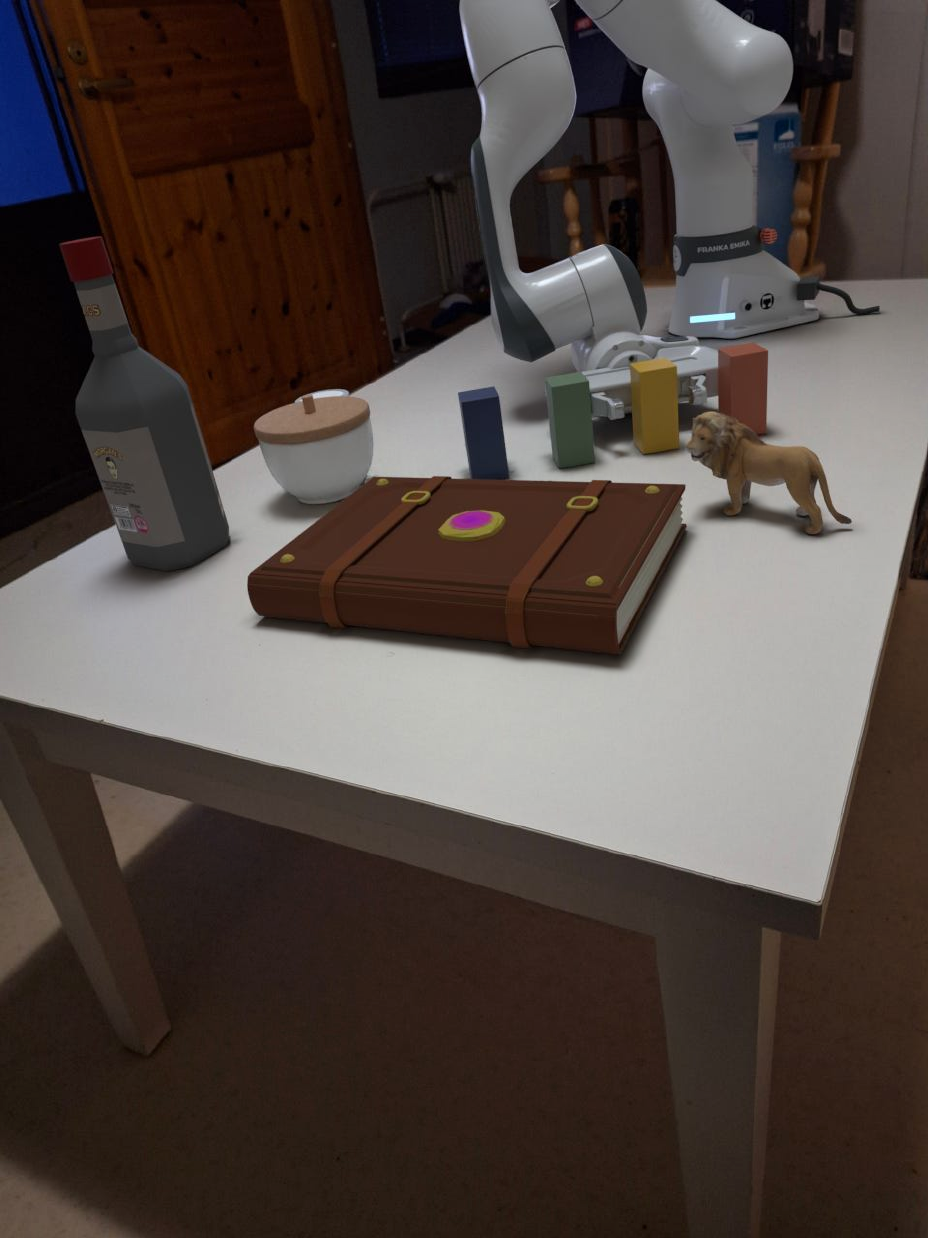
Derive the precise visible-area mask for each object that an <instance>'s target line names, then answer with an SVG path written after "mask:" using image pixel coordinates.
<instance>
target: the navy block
mask: <svg viewBox="0 0 928 1238" xmlns="http://www.w3.org/2000/svg"><path fill="white" fill-rule="evenodd" d="M457 396H458V397H457V398H458V403H459V410H460V416H461V423H462V430H463V431H462V432H463V437H464V444H465V451H466V457H467V458H466V459H467V464H468V470H469V474H470V479H490V480H502V479H505V478H510V472H509V464H508V455H507V448H506V441H505V440H506V439H505V433H504V423H503V416H502V407H501V400H500V394H499V393H498V391H497V388H496V387H495V386H488V387H482V388H475V389H469V390H464V391H458V392H457Z"/></svg>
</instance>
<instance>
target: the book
mask: <svg viewBox="0 0 928 1238" xmlns="http://www.w3.org/2000/svg"><path fill="white" fill-rule="evenodd" d="M686 487H687V486H686V483H685V484H684V483H649V482H648V483H645V482H644V483H643V482H613V481H612V480H609V479H591V481H568V480H567V481H565V480H531V479H530V480H527V479H525V480H524V479H495V480H490V479H472V478H452V476H446V475H443V476H442V475H433V476H431V477H409V476H407V477H406V476H373V477H371V478H370V479H368V480H367V481H366V482H365V483H364V484H362V485H360V488H359V489H357V490H356V491H355V492H353V493H352V494H351V495H350V496H348V497H347V498H345V499H342V500H341V501H340V502H339V503H338V504H337V505H336V506H334V507H332V508H331V509H330V510H329V511H328V512H327V513H325V514H323V515H322V516H321V517H319V519H318V520H316V521H315V522H313V523H312V524H311V525H310V526H309V527H307V528H306V529H305V530H303V531H302V532H301V533H299V534H298V535H296V536H295V537H294V538H293V539H292V540H290V541H289V542H288V543H287V544H285V545H284V546H283V547H282V548H280V549H278V551H276V552H275V553H274V554H272V555H271V556H270V557H269V558H268V559H266V560H265V561H264V562H262V563H261V564H259V566H257V567H256V568H255V569H253V570H252V571H251V572H249V574H248V575H247V583H246V585H247V586H246V587H247V588H246V589H247V595H248V599H249V602H250V604H251V607H252V610H254V612H255V613H256V614H257V615H258V616H260V617H269V618H278V619H287V620H294V621H295V620H296V621H305V622H315V623H323V624H327V625H328V626H329V627H331V628H337V629H346V628H347V627H349V626H351V627H352V626H353V627H359V628H360V627H361V628H370V629H381V630H389V631H399V632H407V633H417V634H426V635H435V636H445V637H451V638H452V637H453V638H463V639H471V640H481V641H489V642H499V643H508V644H510V645H511V646H512V647H513V648H518V649H519V648H520V649H531V648H532V647H533V646H536V647H537V646H538V647H546V648H555V649H564V650H574V651H584V652H590V653H591V652H592V653H601V654H611V655H621V654H622V652H623V651H624V649H625V647H626V645H627V643H628V641H629V639H630V637H631V635H632V634H633V631H634V629H635V628H636V625H637V624H638V621H639V620H640V619H641V616H642V614H643V612H644V610H645V609H646V606H647V604H648V602H649V600H650V599H651V597H652V594H653V593H654V590H655V589H656V587H657V586H658V583H659V581H660V579H661V577H662V576H663V574H664V571H665V569H666V568H667V566H668V564H669V561H670V560H671V558H672V556H673V554H674V552H675V551H676V549H677V547H678V545H679V543H680V540H681V539H682V537H683V535H684V533H685V531H686V529H687V523H682V522H683V520H684V519H683V517H682V515H683V513H684V512H683V511H682V508H683V504H681V502H682V500H683V497H682V496H683V495H684V493H685V491H686Z"/></svg>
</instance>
